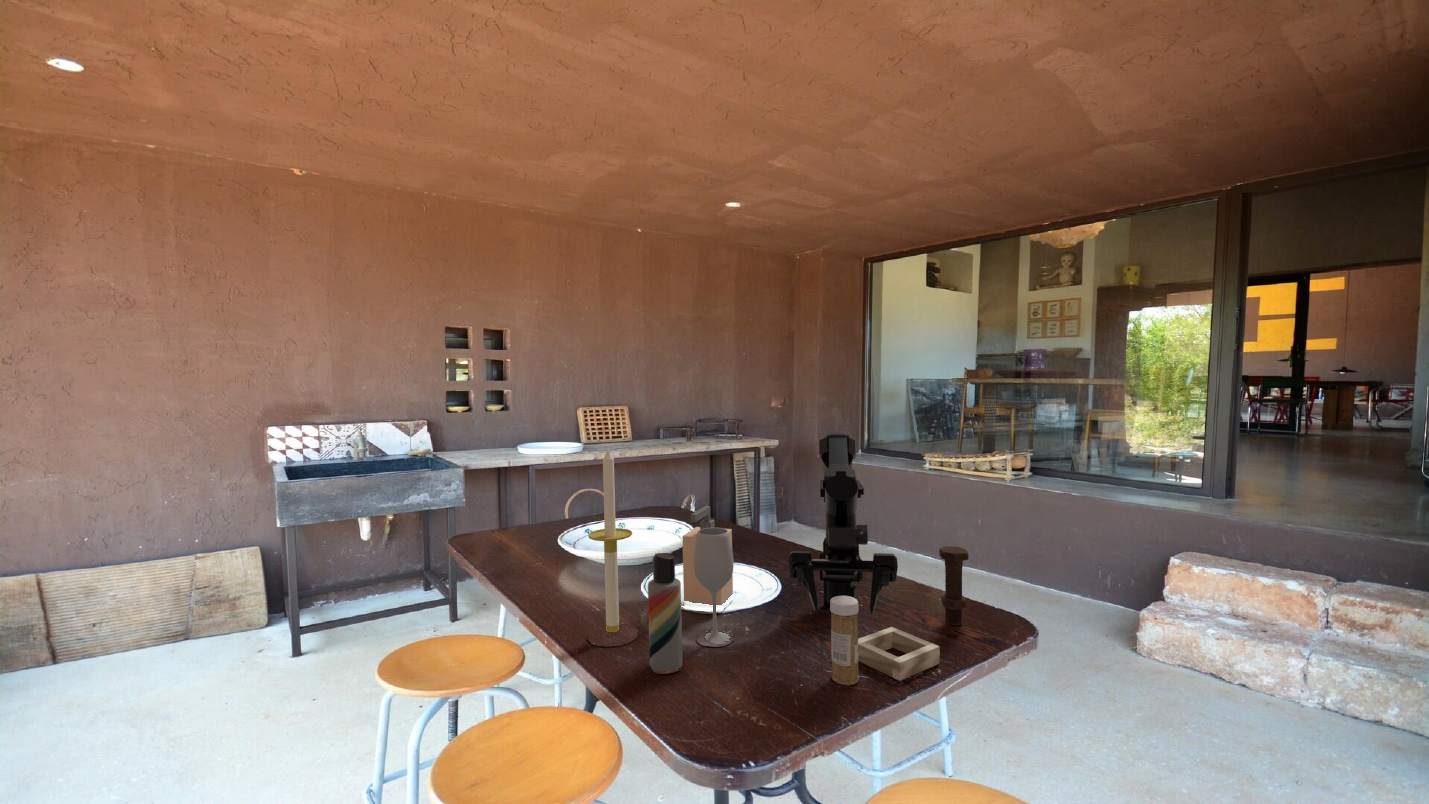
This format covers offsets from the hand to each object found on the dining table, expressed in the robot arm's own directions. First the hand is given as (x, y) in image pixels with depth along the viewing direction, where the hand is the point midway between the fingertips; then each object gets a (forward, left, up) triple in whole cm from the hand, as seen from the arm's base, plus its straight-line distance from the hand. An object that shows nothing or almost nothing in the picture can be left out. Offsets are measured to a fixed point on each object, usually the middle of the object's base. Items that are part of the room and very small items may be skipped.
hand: (843, 611), depth 106 cm
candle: (-44, -10, -10) cm, 46 cm away
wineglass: (-26, -1, -10) cm, 28 cm away
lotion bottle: (-27, -15, -10) cm, 32 cm away
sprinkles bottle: (+1, -3, -10) cm, 11 cm away
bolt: (+11, +30, -10) cm, 34 cm away
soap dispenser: (-36, +12, -10) cm, 40 cm away
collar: (+6, +8, -10) cm, 14 cm away
